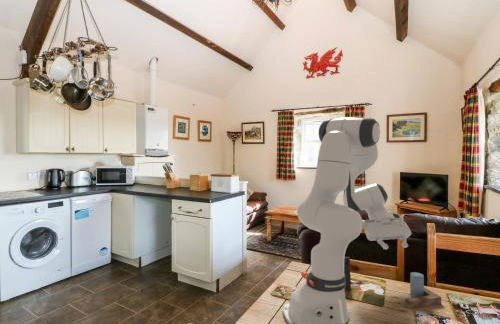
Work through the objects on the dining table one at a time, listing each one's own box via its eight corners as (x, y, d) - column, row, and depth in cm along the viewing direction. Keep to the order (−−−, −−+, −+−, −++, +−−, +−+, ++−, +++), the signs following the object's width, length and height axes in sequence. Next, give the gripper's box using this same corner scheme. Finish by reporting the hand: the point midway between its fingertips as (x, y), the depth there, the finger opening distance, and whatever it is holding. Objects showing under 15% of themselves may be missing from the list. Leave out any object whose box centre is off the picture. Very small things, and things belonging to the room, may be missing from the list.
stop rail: (409, 308, 96) (409, 301, 96) (392, 296, 105) (392, 289, 105) (441, 303, 99) (441, 297, 99) (422, 292, 107) (422, 286, 107)
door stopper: (351, 290, 110) (351, 261, 109) (335, 288, 111) (335, 260, 111) (347, 280, 119) (347, 253, 118) (333, 278, 120) (333, 252, 120)
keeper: (416, 301, 101) (416, 277, 101) (407, 295, 105) (407, 272, 105) (426, 300, 102) (426, 276, 101) (417, 294, 106) (417, 271, 106)
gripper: (363, 217, 119) (377, 246, 110) (403, 214, 123) (420, 242, 114) (357, 224, 124) (370, 253, 114) (396, 221, 127) (412, 249, 118)
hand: (396, 247), depth 114 cm, fingers open, 8 cm apart
